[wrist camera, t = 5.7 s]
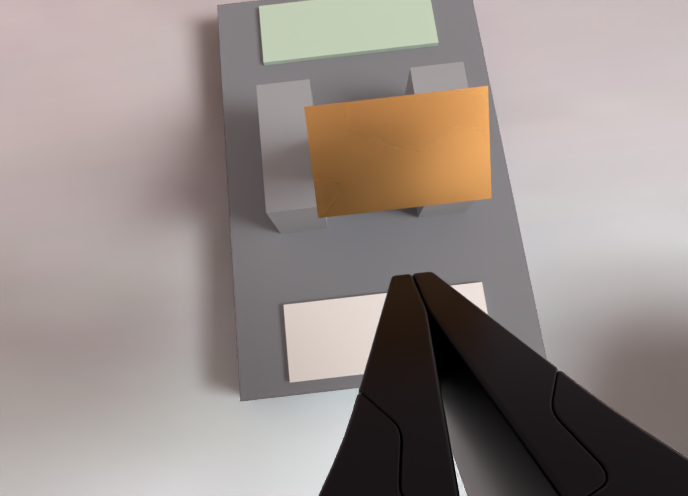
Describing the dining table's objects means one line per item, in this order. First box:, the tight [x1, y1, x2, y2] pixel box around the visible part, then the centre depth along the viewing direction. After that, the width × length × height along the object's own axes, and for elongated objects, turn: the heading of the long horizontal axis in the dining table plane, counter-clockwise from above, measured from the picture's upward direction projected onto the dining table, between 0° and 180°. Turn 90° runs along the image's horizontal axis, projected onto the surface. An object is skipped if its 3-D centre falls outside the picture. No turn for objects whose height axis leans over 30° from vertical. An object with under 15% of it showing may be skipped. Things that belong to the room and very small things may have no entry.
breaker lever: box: [304, 86, 492, 218], centre depth 13 cm, size 2×4×10 cm, turn 96°
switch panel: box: [217, 0, 546, 401], centre depth 17 cm, size 18×12×4 cm, turn 6°
